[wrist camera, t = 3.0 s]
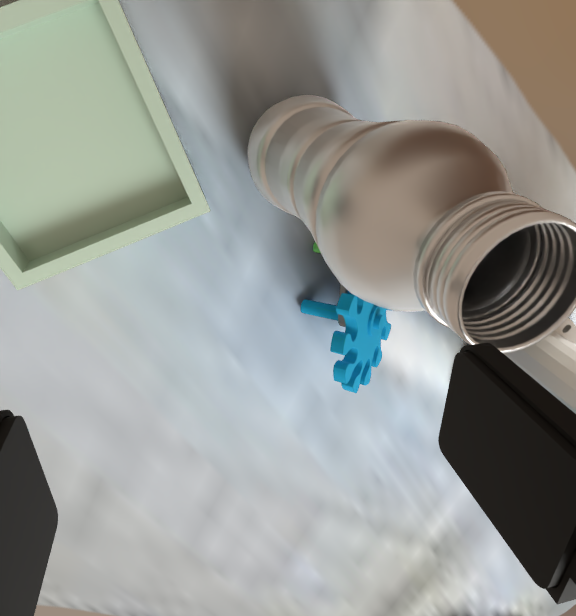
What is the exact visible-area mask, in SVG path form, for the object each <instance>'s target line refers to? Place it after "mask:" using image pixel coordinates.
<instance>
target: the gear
mask: <svg viewBox="0 0 576 616" xmlns="http://www.w3.org/2000/svg"><path fill="white" fill-rule="evenodd" d="M313 251H314V252H316V253H321V252H320V250H319V248H318V246H317V244H316V242H315V243H314V245H313ZM386 310H389V309H386V308H382V307H379V306H376V305H374V304H371V303H369V302H366V301H364V300H362V299H361V298H359V297H357V296H355V295H353V294H352V293H350V292H349V291H348V290H347V289H346V288H345V287H344V286H343V285H341V284H340V298H339V301H338V304H337V306H336V305H331V304H326V303H321V302H316V301H311V300H306V299H304V300H303V302H302V304H301V312H302V313H306V314H310V315H315V316H319V317H324V318H328V319H333V320H337V321H338V323H339V325H340V326H344V327H346V330H345V333H344V332H339V331H335V332H334V333H333V337H332V342H331V350H330V351H331V352H334V353H338V354H342V355H345V357H344V359H343V360H342V361H340V360H338V361H337V362H336V363H335V365H334V369H333V375H334V380H335V381H338V382H341V383H342V387H343V389H345V390H347V391H351V392H354V393H357V391H358V388H359V384H362V385H367V384H368V383H369V382H370V378H371V366H373V367H377V366H378V365H379V363H380V361H381V358H382V351H381V339H383V340H387V338H388V336H389V332H390V329H391V324H389V323H387V320H386ZM391 311H392V310H391Z"/></svg>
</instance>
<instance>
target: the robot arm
mask: <svg viewBox="0 0 576 616" xmlns="http://www.w3.org/2000/svg"><path fill="white" fill-rule="evenodd" d="M439 446H440V449H441V452H442V453H443V455H444V456H445V458H446V459H447V461H448V462H449V463H450V465H451V466H452V468H453V469H454V470H455V472H456V473H457V475H458V476H459V477H460V479H461V480H462V482H463V483H464V484H465V486H466V487H467V489H468V490H469V491H470V493H471V494H472V496H473V497H474V498H475V500H476V501H477V503H478V504H479V505H480V507H481V508H482V510H483V511H484V512H485V514H486V515H487V517H488V518H489V519H490V521H491V522H492V524H493V525H494V526H495V528H496V529H497V530H498V532H499V533H500V535H501V536H502V537H503V539H504V540H505V542H506V543H507V544H508V546H509V547H510V549H511V550H512V551H513V553H514V554H515V556H516V557H517V558H518V560H519V561H520V563H521V564H522V565H523V567H524V568H525V570H526V571H527V572H528V574H529V575H530V577H531V578H532V579H533V581H534V582H535V583H536V584H537V585H538V586H539V587H541V588H543V589H545V588H546V590H547V591H548V593H549V594H550V595H551V597H552V598H553V599H554V601H555V602H556V604H560V603H564V602H567V601H571V600H574V599H576V326H575V325H574V323H573V322H572V320H570V319H569V318H567V319H566V320H565V321H564V322H563V323H562V324H561V325H560V326H559V327H558V328H557V329H556V330H554V331H553V332H552V333H551V334H550V335H548V336H547V337H545V338H544V339H542V340H540V341H539V342H537V343H535V344H533V345H531V346H529V347H527V348H524V349H521V350H518V351H515V352H509V353H502V352H501V351H500V350H498V349H497V348H496V347H495V346H494V345H492V344H490V343H481V344H473V345H466V346H464V347H463V348H462V349H461V351H460V353H457V354H456V356H455V359H454V364H453V369H452V374H451V379H450V384H449V389H448V393H447V398H446V403H445V408H444V413H443V418H442V423H441V428H440V433H439ZM57 523H58V513H57V508H56V505H55V502H54V499H53V497H52V494H51V491H50V488H49V486H48V483H47V480H46V478H45V475H44V472H43V469H42V467H41V464H40V461H39V459H38V456H37V453H36V450H35V448H34V445H33V442H32V440H31V437H30V434H29V431H28V429H27V426H26V423H25V421H24V419H23V417H22V416H14V415H13V413H12V412H11V411H10V410H2V411H0V616H34V613H35V609H36V605H37V601H38V597H39V594H40V590H41V586H42V582H43V578H44V575H45V571H46V567H47V563H48V559H49V555H50V552H51V548H52V544H53V540H54V536H55V533H56V529H57Z"/></svg>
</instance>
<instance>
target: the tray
mask: <svg viewBox="0 0 576 616" xmlns="http://www.w3.org/2000/svg"><path fill="white" fill-rule="evenodd" d="M207 212H210V208H209V206H208V203H207V201H206V198H205V196H204V194H203V192H202V189H201V187H200V185H199V182H198V180H197V178H196V176H195V173H194V171H193V169H192V166H191V164H190V162H189V160H188V157H187V155H186V153H185V150H184V148H183V146H182V144H181V141H180V139H179V137H178V135H177V132H176V130H175V128H174V125H173V123H172V121H171V119H170V116H169V114H168V112H167V109H166V107H165V105H164V103H163V100H162V98H161V96H160V93H159V91H158V89H157V87H156V84H155V82H154V80H153V77H152V75H151V73H150V71H149V68H148V66H147V64H146V62H145V59H144V57H143V55H142V52H141V50H140V48H139V46H138V43H137V41H136V39H135V36H134V34H133V32H132V30H131V27H130V25H129V23H128V20H127V18H126V16H125V14H124V11H123V9H122V7H121V4H120V2H119V0H19V1H16V2H13V3H11V4H8V5H5V6H3V7H0V268H1V270H2V271H3V272H4V273H5V275H6V276H7V277H8V279H9V280H10V281H11V282H12V284H13V285H14V286H15V288H16V289H17V290H20V289H22V288H25V287H27V286H30V285H32V284H35V283H37V282H39V281H42V280H44V279H47V278H49V277H52V276H54V275H56V274H59V273H61V272H64V271H66V270H69V269H71V268H73V267H76V266H78V265H81V264H83V263H86V262H88V261H91V260H93V259H95V258H98V257H100V256H103V255H105V254H108V253H110V252H112V251H115V250H117V249H120V248H122V247H125V246H127V245H129V244H132V243H134V242H137V241H139V240H142V239H144V238H146V237H149V236H151V235H154V234H156V233H159V232H161V231H163V230H166V229H168V228H171V227H173V226H176V225H178V224H181V223H183V222H185V221H188V220H190V219H193V218H195V217H198V216H200V215H202V214H205V213H207Z"/></svg>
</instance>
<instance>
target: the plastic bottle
mask: <svg viewBox="0 0 576 616" xmlns="http://www.w3.org/2000/svg"><path fill="white" fill-rule="evenodd" d="M248 164H249V169H250V173H251V177H252V179H253V181H254V184H255V186H256V188H257V189H258V190H259V192H260V193H261V194H262V196H263V197H264V198H265V199H266V200H267V201H269V202H270V203H271V204H272V205H274V206H276V207H277V208H279V209H281V210H283V211H284V212H286V213H289V214H292V215H294V216H296V217H298V218H299V219H301V220H302V221H303V223H304V224H305V225H306V226H307V228H308V229H309V230H310V232H311V233H312V235H313V238H314V240H315V242H316V244H317V246H318V248H319V250H320V252H321V254H322V256H323V258H324V261H325V262H326V263H327V265H328V266H329V268H330V269H331V271H332V272H333V274H334V275H335V276H336V278H337V279H338V281H339V282H340V284H341V285H343V286H344V287H345V288H346V289H347V290H348V291H349V292H350V293H352V294H353V295H355V296H357V297H359V298H361V299H362V300H364V301H366V302H369V303H371V304H374V305H376V306H379V307H382V308H386V309H389V310H393V311H403V312H415V311H427V312H428V313H429V314H430V315H431V316H432V317H433V318H434V319H435V320H436V321H437V322H439V323H441V324H442V325H444V326H446V327H448V328H451V329H452V330H453V331H454V332H455V333H456V334H457V335H458V336H459V337H461V338H462V339H463V340H464V341H465V342H466V343H468V344H470V345H473V344H481V343H490V344H492V345H494V346H495V347H496V348H497V349H498V350H500V351H501V352H502V353H509V352H515V351H518V350H521V349H524V348H527V347H529V346H531V345H533V344H535V343H537V342H539V341H540V340H542V339H544V338H545V337H547V336H548V335H550V334H551V333H552V332H553V331H554V330H556V329H557V328H558V327H559V326H560V325H561V324H562V323H563V322H564V321H565V320H566V319H567V318H568V317H569V316H570V315H571V313H572V312H573V311H574V309H575V308H576V223H574V222H572V221H571V220H570V219H568V218H566V217H564V216H562V215H559V214H556V213H554V212H551V211H548V210H545V209H543V208H542V207H541V206H539V205H538V204H537V203H536V202H534V201H532V200H530V199H528V198H525V197H523V196H520V195H517V194H514V193H513V191H512V188H511V184H510V181H509V179H508V176H507V173H506V170H505V168H504V167H503V165H502V163H501V162H500V160H499V159H498V157H497V156H496V155H495V154H494V153H493V152H492V151H491V150H490V149H489V148H488V147H486V146H485V145H484V144H483V143H482V142H481V141H480V140H479V139H477V138H476V137H475V136H474V135H473V134H472V133H470V132H468V131H466V130H464V129H462V128H460V127H459V126H457V125H453V124H449V123H444V122H440V121H428V120H404V121H391V122H378V123H377V122H370V121H362V120H359V119H357V118H355V117H353V116H352V115H351V114H350V113H349V112H348V111H346V110H345V109H344V108H343V107H341V106H339V105H338V104H336V103H335V102H333V101H331V100H329V99H327V98H324V97H320V96H316V95H299V96H294V97H290V98H288V99H285V100H283V101H281V102H279V103H277V104H275V105H273V106H272V107H271V108H269V109H268V110H266V111H265V112H264V114H263V115H262V116H261V117H260V118H259V119H258V121H257V122H256V124H255V126H254V127H253V130H252V132H251V135H250V138H249V144H248Z"/></svg>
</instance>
